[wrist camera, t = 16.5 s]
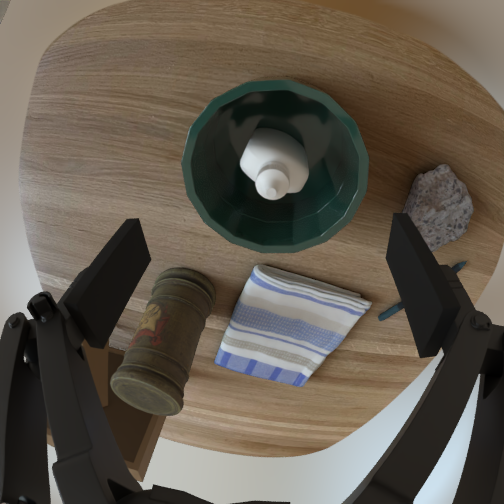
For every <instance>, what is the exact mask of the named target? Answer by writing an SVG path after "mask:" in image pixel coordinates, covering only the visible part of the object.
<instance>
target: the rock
mask: <svg viewBox="0 0 504 504" xmlns="http://www.w3.org/2000/svg"><path fill="white" fill-rule="evenodd" d="M473 212H474V207H473V205H472V199H471V196H470V195H469V194H468V190H467V187H466V185H465V184H464V183H463V182H461V181H459V180H458V179H457V177H456V175H455V173H453V172H452V170H451V169H450V167H449V165H447V164H444V165H439V166H438V167H437V168H436V169H435V170H433V171H428V172H427V173H425V174H422V173H420V174H418V175H417V177H416V178H415V180H414V182H413V184H412V187H411V189H410V192H409V196H408V199H407V201H406V203H405V207H404V209H403V211H402V213H408V215H409V216H410V218H411V220H412V221H413V223H414V224H415V226H416V227H417V229H418V231H419V232H420V234H421V235H422V237H423V239H424V240H425V242H426V244H427V245H428V247H429V249H430V250H431V252H434V251H436V250H438V248H439V247H440V246H443V245H445V244H447V243H448V242H450V241H456V240H458V239H459V238H460V237H461V236H462V234H464V233H465V232H467V229H468V223H469V221H470V218H471V215H472V213H473Z"/></svg>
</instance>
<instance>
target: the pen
mask: <svg viewBox="0 0 504 504" xmlns="http://www.w3.org/2000/svg"><path fill="white" fill-rule="evenodd" d="M466 262H467V261H464V262H461V263H458V264H456V265H455V266H453V267H452V268H451V269H452V270H453V271H455V273H457V272H458V271H460V270H461V269H462V267H463V266H464V265H465V264H466ZM403 308H404V306H403V303H402V301H401V302H400V303H398V304H397V305H395V306H393V307H392V308H390V309H389V310H387V311H385V312H384V313H382V314H380V316H378V319H379V321H382V320H385V319H386V318H388V317H390V316H391V315H393V314H395V313H396V312H398V311H400V310H401V309H403Z"/></svg>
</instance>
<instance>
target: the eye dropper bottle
mask: <svg viewBox="0 0 504 504" xmlns="http://www.w3.org/2000/svg"><path fill="white" fill-rule="evenodd" d="M240 166H241V169H242V170H243V171H244V172H245V173H246V174H247V175H248V176H249V177H250V178H251V179H252V180H253V181H255V183H256V184H255V185H256V188H257V191H258V193H259V194H260V195H261V196H263V197H264V198H266V199H269V200H276V199H280V198H281V197H283V196H284V195H285V194H286V193H296V192H299V191H300V190H301V189H302V188H303V186H304V184H305V183H306V181H307V179H308V175H309V168H308V162H307V157H306V152H305V149H304V147H303V146H302V145H301V144H300V143H299V142H298V141H297V140H296V139H294V138H293V137H291V136H290V135H288V134H286V133H284V132H282V131H279V130H275V129H271V128H257V129H256V130H255V131H254V132H253V134H252V136H251V138H250V140H249V142H248V144H247V146H246V149H245V151H244V153H243V155H242V158H241V160H240Z"/></svg>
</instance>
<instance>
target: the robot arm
mask: <svg viewBox="0 0 504 504" xmlns="http://www.w3.org/2000/svg"><path fill="white" fill-rule="evenodd" d="M386 260H387V263H388V265H389V268H390V270H391V273H392V276H393V278H394V281H395V284H396V286H397V289H398V292H399V295H400V297H401V300H402V303H403V306H404V309H405V312H406V315H407V318H408V321H409V324H410V327H411V330H412V333H413V337H414V340H415V343H416V346H417V350H418V353H419V357H420V358H425V357H433V356H436V355H437V354H438V352H439V350H440V348H441V347H442V350H443V353H444V356H443V358H442V359H441V361H440V363H439V364H438V366H437V368H436V369H435V370H436V371H435V373H434V375H433V377H432V378H431V380H430V382H429V384H428V386H427V388H426V389H425V391H424V393H423V395H422V396H421V398H420V400H419V401H418V403H417V405H416V406H415V408H414V410H413V411H412V413H411V415H410V416H409V418H408V419H407V421H406V422H405V424H404V426H403V427H402V428H401V430H400V432H399V433H398V434H397V436H396V438H395V439H394V440H393V442H392V443H391V445H390V446H389V447H388V449H387V450H386V451H385V453H384V454H383V456H382V457H381V458H380V459H379V461H378V462H377V464H376V465H375V466H374V467H373V469H372V470H371V471H370V472H369V474H368V475H367V476H366V477H365V478H364V480H363V481H362V482H361V483H360V485H359V486H358V487H357V488H356V489H355V490H354V491H353V493H352V494H351V495H350V496H349V497H348V498H347V499H346V500H345V501H344V502H343V503H342V504H413V501H414V499H415V497H416V495H417V494H418V492H419V491H420V489H421V488H422V486H423V485H424V483H425V482H426V480H427V478H428V477H429V475H430V474H431V472H432V470H433V469H434V467H435V465H436V464H437V462H438V460H439V458H440V457H441V455H442V453H443V451H444V450H445V448H446V446H447V444H448V442H449V440H450V438H451V436H452V434H453V432H454V430H455V428H456V426H457V424H458V422H459V420H460V418H461V416H462V413H463V411H464V409H465V407H466V404H467V402H468V400H469V397H470V395H471V393H472V390H473V387H474V385H475V382H476V380H477V377H478V374H480V384H479V392H478V400H477V407H476V414H475V419H474V425H473V430H472V435H471V440H470V444H469V449H468V453H467V457H466V461H465V465H464V468H463V472H462V475H461V479H460V482H459V485H458V488H457V492H456V495H455V498H454V500H453V503H452V504H504V326H499V325H494V324H492V322H491V320H490V318H489V317H488V316H487V315H486V314H484V313H483V312H480V311H477V310H475V308H474V305H473V304H472V302H471V300H470V298H469V296H468V294H467V292H466V290H465V289H464V288H463V285H462V283H461V282H460V280H459V278H458V276H457V275H456V273H455V271H453V270H452V269H451V268H450V267H449V266H448V265H439V264H438V262H437V261H436V259H435V257H434V255H433V254H432V252H431V250H430V249H429V247H428V245H427V244H426V242H425V240H424V239H423V237H422V235H421V234H420V232H419V231H418V229H417V227H416V226H415V224H414V223H413V221H412V220H411V218H410V216H409V215H408V213H393V220H392V226H391V232H390V237H389V243H388V248H387V254H386ZM150 261H151V257H150V254H149V251H148V248H147V244H146V241H145V238H144V234H143V231H142V227H141V224H140V221H139V218H134V219H126V221H125V222H124V223H123V224H122V225H121V227H120V228H119V229H118V230H117V232H116V233H115V234H114V235H113V236H112V238H111V239H110V240H109V241H108V243H107V244H106V245H105V246H104V248H103V249H102V250H101V252H100V253H99V254H98V255H97V257H96V258H95V259H94V261H93V262H92V263H91V265H90V266H89V267H87V268H85V269H84V270H83V271H82V272H80V273H79V274H78V276H77V277H76V278H75V280H74V282H72V284H71V285H70V286H69V287H70V288H68V289H67V291H66V292H65V293H64V295H63V296H62V298H61V299H60V300H59V302H58V303H57V304H56V302H55V301H54V299H53V297H52V295H51V294H50V293H49V292H47V291H46V292H40V293H38V294H36V295H35V296H33V297H32V298H31V300H30V301H29V302H28V305H27V309H28V310H29V312H30V313H31V315H32V316H33V318H34V319H30V320H27V318H26V317H25V315H24V314H23V313H21V312H19V313H16V314H13V315H12V316H10V317H9V318H8V320H7V321H6V323H5V325H4V329H3V332H2V335H1V339H0V504H51V498H50V485H49V473H48V455H47V417H48V422H49V426H50V430H51V435H52V439H53V443H54V447H55V450H56V454H57V462H55V463H53V466H52V470H53V475H54V478H55V481H56V484H57V487H58V490H59V493H60V496H61V499H62V502H63V504H213V503H211V502H208V501H206V500H203V499H201V498H198V497H196V496H194V495H191V494H189V493H187V492H184V491H180V490H175V489H171V488H166V487H161V486H158V485H153V487H152V489H150V490H143V489H142V487H141V486H140V484H139V483H138V482H137V480H136V479H135V478H134V477H133V476H132V474H131V473H130V471H129V469H128V467H127V465H126V463H125V461H124V459H123V456H122V454H121V452H120V450H119V447H118V445H117V443H116V440H115V438H114V436H113V433H112V431H111V428H110V426H109V423H108V420H107V418H106V415H105V412H104V410H103V407H102V404H101V401H100V398H99V395H98V392H97V389H96V386H95V383H94V380H93V377H92V374H91V370H90V367H89V363H88V360H87V356H86V353H85V349H84V347H83V346H82V342H83V341H84V339H85V340H86V341H87V343H88V344H89V346H90V347H93V348H98V349H104V347H105V345H106V343H107V341H108V339H109V337H110V335H111V333H112V331H113V329H114V327H115V325H116V323H117V322H118V320H119V318H120V316H121V314H122V312H123V310H124V308H125V306H126V304H127V303H128V301H129V299H130V297H131V295H132V293H133V292H134V290H135V288H136V286H137V284H138V283H139V281H140V279H141V277H142V275H143V274H144V272H145V270H146V268H147V267H148V265H149V263H150ZM24 356H25V357H26V362H24ZM232 504H290V502H271V501H248V502H241V503H232Z"/></svg>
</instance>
